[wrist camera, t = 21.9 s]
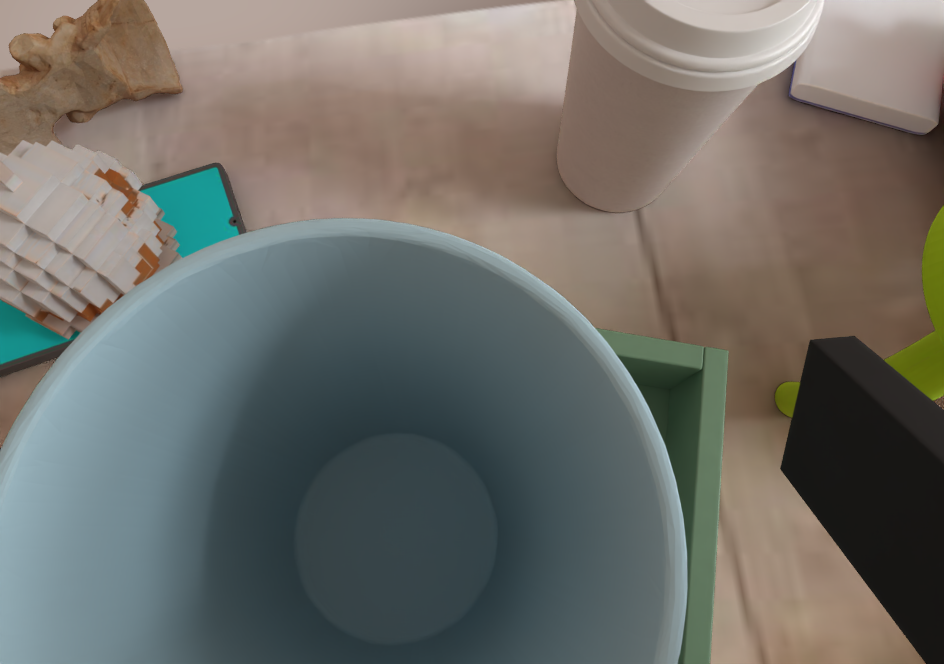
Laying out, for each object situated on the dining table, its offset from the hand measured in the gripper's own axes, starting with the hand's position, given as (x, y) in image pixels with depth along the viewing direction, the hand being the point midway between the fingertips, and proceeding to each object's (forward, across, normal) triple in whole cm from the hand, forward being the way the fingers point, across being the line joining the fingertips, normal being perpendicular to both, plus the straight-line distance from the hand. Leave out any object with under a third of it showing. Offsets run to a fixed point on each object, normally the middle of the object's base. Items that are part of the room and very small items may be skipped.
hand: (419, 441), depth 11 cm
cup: (+4, -1, -6) cm, 7 cm away
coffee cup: (+28, +12, -4) cm, 31 cm away
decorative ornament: (+24, -16, -6) cm, 30 cm away
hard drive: (+28, +26, -2) cm, 39 cm away
